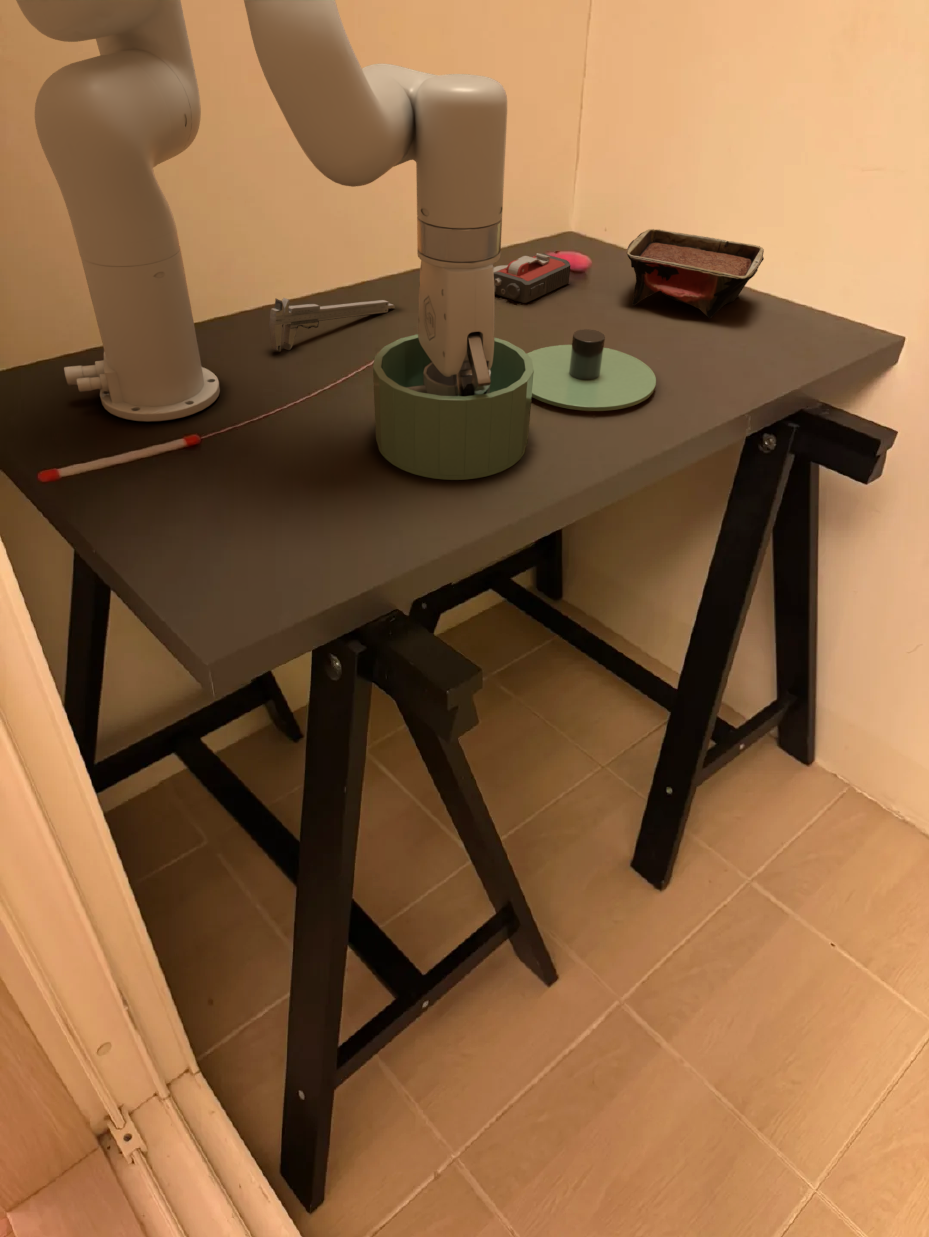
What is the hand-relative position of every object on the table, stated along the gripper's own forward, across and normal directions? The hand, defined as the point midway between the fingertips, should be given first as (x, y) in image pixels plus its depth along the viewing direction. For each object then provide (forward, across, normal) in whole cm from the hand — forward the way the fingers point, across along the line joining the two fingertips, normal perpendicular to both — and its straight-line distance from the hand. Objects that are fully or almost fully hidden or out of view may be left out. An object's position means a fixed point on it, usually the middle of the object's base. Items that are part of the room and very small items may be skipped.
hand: (456, 418), depth 89 cm
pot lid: (+2, -9, +19) cm, 21 cm away
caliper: (+3, -31, -6) cm, 32 cm away
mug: (+2, 0, -1) cm, 2 cm away
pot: (+2, 0, 0) cm, 3 cm away
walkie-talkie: (+3, -38, +21) cm, 43 cm away
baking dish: (+3, -29, +44) cm, 52 cm away
